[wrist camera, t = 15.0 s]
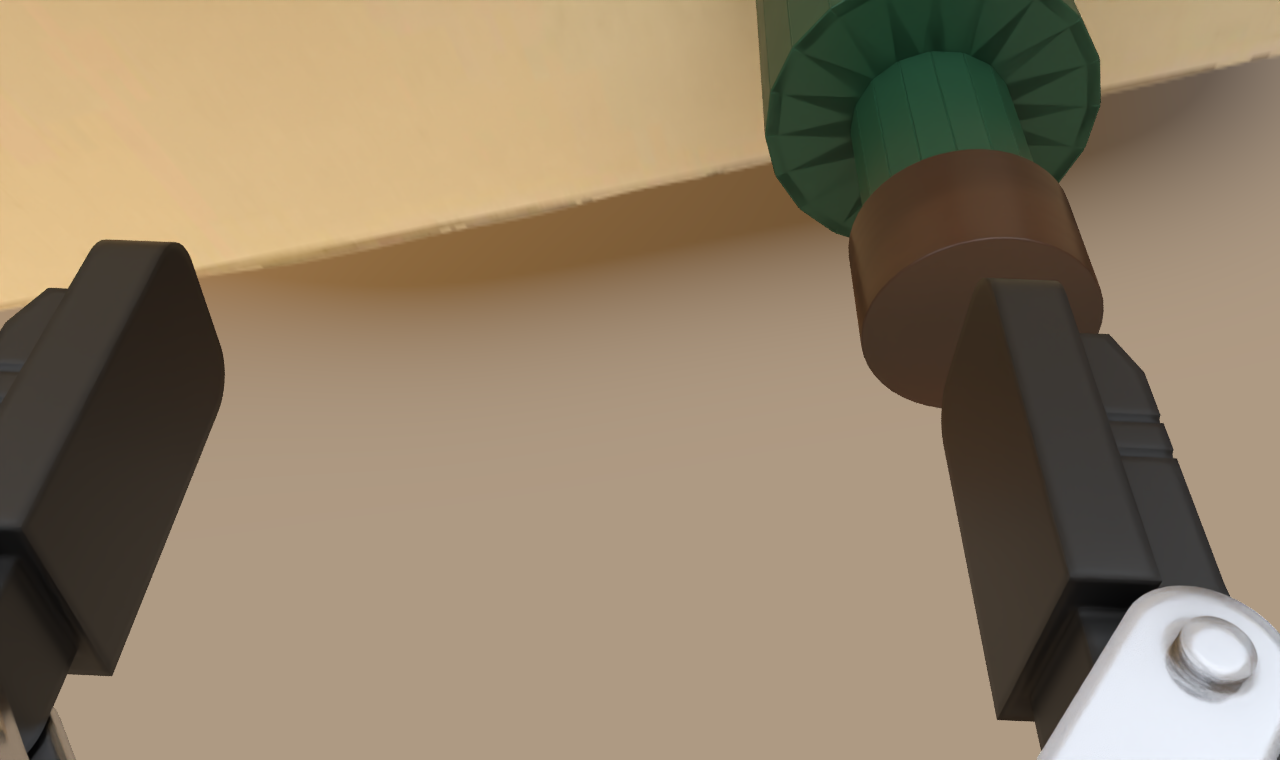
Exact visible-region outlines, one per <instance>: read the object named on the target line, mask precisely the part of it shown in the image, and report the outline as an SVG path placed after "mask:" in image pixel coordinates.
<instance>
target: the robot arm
mask: <svg viewBox="0 0 1280 760" xmlns="http://www.w3.org/2000/svg"><path fill="white" fill-rule="evenodd" d="M224 371H225V370H224V359H223V353H222V349H221V346H220V343H219V340H218V337H217V334H216V331H215V328H214V325H213V322H212V319H211V316H210V313H209V311H208V308H207V305H206V302H205V299H204V296H203V293H202V290H201V287H200V284H199V281H198V278H197V275H196V272H195V269H194V266H193V263H192V260H191V258H190V256H189V254H188V252H187V250H186V249H185V248H184V246H183V245H181V244H180V243H176V242H154V241H130V240H101V241H99V242H97V243H96V244H95V245H94V246H93V248H92V249H91V251H90V252H89V254H88V255H87V257H86V259H85V261H84V262H83V264H82V266H81V267H80V269H79V271H78V273H77V274H76V276H75V278H74V279H73V281H72V283H71V285H70V286H69V288H68V289H62V288H47V289H46V290H45V291H44V292H43V293H41V294H40V295H39V296H38V297H36V298H35V299H34V300H33V301H31V302H30V303H29V304H28V305H26V306H25V307H24V308H23V309H22V310H20V311H19V312H18V313H17V314H15V315H14V316H13V317H12V318H10V319H9V320H8V321H7V322H6V323H5V324H4V326H3V328H2V329H1V331H0V760H76V759H75V756H74V753H73V751H72V748H71V745H70V743H69V740H68V737H67V735H66V732H65V730H64V727H63V725H62V722H61V719H60V717H59V715H58V713H57V711H56V710H55V708H54V707H53V706H54V703H55V701H56V699H57V696H58V694H59V692H60V689H61V687H62V685H63V683H64V680H65V678H66V675H67V674H78V675H98V676H99V675H100V676H112V675H113V672H114V670H115V667H116V665H117V662H118V660H119V657H120V655H121V652H122V650H123V647H124V645H125V642H126V640H127V637H128V635H129V632H130V630H131V627H132V625H133V623H134V620H135V617H136V615H137V612H138V610H139V607H140V605H141V603H142V600H143V597H144V595H145V593H146V590H147V587H148V585H149V582H150V580H151V578H152V575H153V573H154V570H155V568H156V565H157V562H158V560H159V558H160V555H161V553H162V550H163V548H164V545H165V543H166V540H167V538H168V535H169V533H170V530H171V528H172V525H173V523H174V520H175V518H176V515H177V513H178V510H179V508H180V505H181V503H182V500H183V498H184V495H185V493H186V490H187V488H188V485H189V483H190V480H191V478H192V476H193V473H194V470H195V468H196V465H197V463H198V460H199V458H200V456H201V453H202V451H203V448H204V446H205V443H206V441H207V438H208V436H209V433H210V431H211V428H212V426H213V423H214V421H215V418H216V416H217V413H218V411H219V407H220V405H221V401H222V397H223V391H224V378H225V377H224V376H225V372H224ZM941 415H942V416H941V417H942V418H941V419H942V420H941V422H942V423H941V424H942V437H943V444H944V450H945V455H946V460H947V465H948V470H949V475H950V480H951V486H952V490H953V496H954V501H955V506H956V511H957V516H958V522H959V527H960V532H961V537H962V542H963V547H964V552H965V558H966V562H967V568H968V573H969V578H970V583H971V588H972V593H973V598H974V604H975V609H976V614H977V619H978V624H979V629H980V635H981V639H982V645H983V650H984V655H985V660H986V665H987V671H988V676H989V681H990V686H991V691H992V696H993V701H994V707H995V712H996V717H997V720H1012V721H1033V722H1035V724H1036V729H1037V734H1038V738H1039V743H1040V747H1041V753H1040V755H1039V756H1038V758H1037V759H1036V760H1280V634H1279V632H1278V631H1277V630H1276V629H1275V628H1274V627H1273V626H1272V625H1271V624H1270V623H1269V622H1268V621H1267V620H1265V619H1264V618H1263V617H1262V616H1260V615H1259V614H1258V613H1257V612H1255V611H1254V610H1252V609H1251V608H1249V607H1248V606H1246V605H1244V604H1243V603H1241V602H1239V601H1237V600H1235V599H1233V598H1231V597H1230V595H1229V593H1228V591H1227V589H1226V587H1225V584H1224V582H1223V579H1222V577H1221V574H1220V571H1219V569H1218V566H1217V564H1216V561H1215V558H1214V556H1213V553H1212V550H1211V548H1210V545H1209V542H1208V540H1207V537H1206V534H1205V532H1204V529H1203V526H1202V524H1201V521H1200V519H1199V516H1198V513H1197V511H1196V508H1195V505H1194V503H1193V500H1192V497H1191V495H1190V492H1189V490H1188V487H1187V484H1186V482H1185V479H1184V476H1183V474H1182V471H1181V469H1180V466H1179V464H1178V461H1177V459H1175V458H1173V455H1172V453H1173V447H1172V445H1171V442H1170V439H1169V437H1168V434H1167V431H1166V429H1165V426H1164V424H1163V423H1160V421H1159V418H1160V413H1159V410H1158V408H1157V405H1156V402H1155V400H1154V397H1153V394H1152V392H1151V389H1150V386H1149V384H1148V381H1147V379H1146V376H1145V373H1144V372H1143V371H1142V370H1141V368H1140V367H1139V366H1138V365H1137V364H1136V363H1135V362H1134V361H1133V360H1132V359H1131V358H1130V357H1129V355H1128V354H1127V353H1126V352H1125V351H1124V350H1123V349H1122V348H1121V347H1120V346H1119V345H1118V344H1117V342H1116V341H1115V340H1114V339H1113V338H1112V337H1111V336H1110V335H1109V334H1091V333H1079V330H1078V327H1077V324H1076V321H1075V318H1074V315H1073V312H1072V309H1071V306H1070V303H1069V300H1068V297H1067V294H1066V292H1065V289H1064V287H1063V286H1062V284H1061V283H1059V282H1058V281H1052V280H1028V279H1003V278H982V279H981V280H979V282H978V283H977V285H976V287H975V289H974V292H973V295H972V298H971V301H970V304H969V308H968V311H967V314H966V317H965V321H964V324H963V327H962V330H961V333H960V337H959V340H958V343H957V346H956V350H955V353H954V356H953V359H952V363H951V366H950V369H949V372H948V376H947V379H946V383H945V387H944V392H943V400H942V414H941Z"/></svg>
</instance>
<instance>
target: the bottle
mask: <svg viewBox="0 0 1280 760" xmlns="http://www.w3.org/2000/svg"><path fill="white" fill-rule="evenodd" d="M756 8H757V23H758V38H759V53H760V68H761V83H762V98H763V112H764V127H765V138H766V142H767V146H768V150H769V154H770V157H771V161H772V165H773V169H774V173H775V175H776V177H777V179H778V180H779V181H780V183H781V184H782V186H783V187H784V188H785V190H786V191H787V192H788V194H789V195H790V197H791V198H792V199H793V201H794V202H795V203H796V205H797V206H798V208H800V209H801V210H802V211H803V212H805V213H806V214H808V215H809V216H811V217H812V218H813V219H815V220H816V221H818V222H819V223H821V224H822V225H824V226H825V227H827V228H829V230H831V231H832V232H835V233H836V234H840V235H843V236H846V237H849V238H850V233H851V230H852V226H853V223H854V221H855V219H856V217H857V215H858V213H859V211H860V210H861V208H862V206H863V205H864V203H865V202H866V201H867V199H868V198H869V197H870V196H871V195H872V193H873V192H874V191H875V190H876V189H877V188H878V187H880V186H881V185H882V184H883V183H884V182H885V181H886V180H888V179H889V178H890V177H892V176H893V175H894V174H896V173H898V172H899V171H901V170H903V169H904V168H906V167H908V166H910V165H912V164H914V163H916V162H919V161H921V160H923V159H926V158H929V157H932V156H935V155H938V154H942V153H947V152H951V151H958V150H966V149H988V150H998V151H1003V152H1008V153H1012V154H1015V155H1018V156H1021V157H1024V158H1026V159H1028V160H1030V161H1032V162H1034V163H1036V164H1038V165H1039V166H1040V167H1042V168H1043V169H1045V170H1046V171H1047V172H1049V173H1050V174H1051V175H1052V176H1053V177H1054V178H1055V179H1056V180H1057V182H1058V183H1059V182H1060V181H1061V179H1062V178H1063V177H1064V175H1065V174H1066V173H1067V171H1068V170H1069V169H1070V168H1071V166H1072V165H1073V164H1074V162H1075V161H1076V160H1077V158H1078V157H1079V156H1080V154H1081V153H1082V152H1083V150H1084V148H1085V146H1086V144H1087V141H1088V138H1089V136H1090V132H1091V130H1092V127H1093V124H1094V122H1095V119H1096V116H1097V113H1098V110H1099V108H1100V103H1101V87H1100V59H1099V55H1098V53H1097V51H1096V49H1095V46H1094V44H1093V42H1092V40H1091V37H1090V35H1089V33H1088V31H1087V29H1086V26H1085V24H1084V22H1083V20H1082V18H1081V15H1080V13H1079V11H1078V9H1077V7H1076V5H1075V3H1074V0H756Z"/></svg>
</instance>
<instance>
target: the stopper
mask: <svg viewBox="0 0 1280 760" xmlns="http://www.w3.org/2000/svg"><path fill="white" fill-rule="evenodd" d="M849 260H850V268H851V275H852V282H853V289H854V296H855V304H856V311H857V318H858V325H859V332H860V339H861V346H862V351H863V355H864V358H865V359H866V362H867V364H868V366H869V368H870V369H871V371H872V372H873V374H874V375H875V376H876V377H877V378H878V379H879V380H880V381H881V382H882V383H883V384H884V385H885V386H886V387H888V388H889V389H890V390H891V391H893V392H895V393H897V394H898V395H900V396H902V397H904V398H906V399H909V400H911V401H914V402H916V403H920V404H923V405H927V406H933V407H937V408H942V400H943V392H944V387H945V383H946V379H947V376H948V372H949V369H950V366H951V363H952V359H953V356H954V353H955V350H956V346H957V343H958V340H959V337H960V333H961V330H962V327H963V324H964V321H965V317H966V314H967V311H968V308H969V304H970V301H971V298H972V295H973V292H974V289H975V287H976V285H977V283H978V282H979V280H981V279H982V278H1003V279H1028V280H1052V281H1058V282H1059V283H1061V284H1062V286H1063V287H1064V289H1065V292H1066V294H1067V297H1068V300H1069V303H1070V306H1071V309H1072V312H1073V315H1074V318H1075V321H1076V324H1077V327H1078V330H1079V333H1091V334H1098V333H1099V330H1100V327H1101V323H1102V318H1103V297H1102V294H1101V289H1100V286H1099V284H1098V281H1097V278H1096V275H1095V273H1094V270H1093V267H1092V265H1091V262H1090V259H1089V256H1088V254H1087V251H1086V248H1085V245H1084V243H1083V240H1082V238H1081V235H1080V232H1079V229H1078V226H1077V224H1076V221H1075V218H1074V216H1073V213H1072V210H1071V207H1070V205H1069V202H1068V199H1067V197H1066V195H1065V193H1064V191H1063V189H1062V188H1061V186H1060V185H1059V183H1058V182H1057V180H1056V179H1055V178H1054V177H1053V176H1052V175H1051V174H1050V173H1049V172H1047V171H1046V170H1045V169H1043V168H1042V167H1040V166H1039V165H1038V164H1036V163H1034V162H1032V161H1030V160H1028V159H1026V158H1024V157H1021V156H1018V155H1015V154H1012V153H1008V152H1003V151H998V150H988V149H966V150H958V151H951V152H947V153H942V154H938V155H935V156H932V157H929V158H926V159H923V160H921V161H919V162H916V163H914V164H912V165H910V166H908V167H906V168H904V169H903V170H901V171H899V172H898V173H896V174H894V175H893V176H892V177H890V178H889V179H888V180H886V181H885V182H884V183H883V184H882V185H881V186H880V187H878V188H877V189H876V190H875V191H874V192H873V193H872V195H871V196H870V197H869V198H868V199H867V201H866V202H865V203H864V205H863V206H862V208H861V210H860V211H859V213H858V215H857V217H856V219H855V221H854V223H853V226H852V230H851V233H850V238H849Z"/></svg>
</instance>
